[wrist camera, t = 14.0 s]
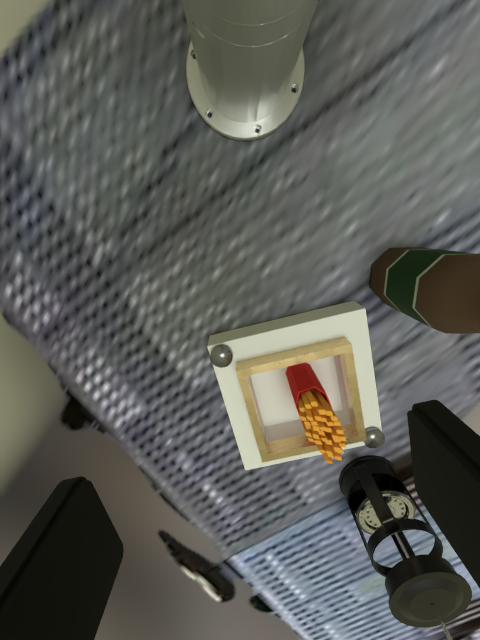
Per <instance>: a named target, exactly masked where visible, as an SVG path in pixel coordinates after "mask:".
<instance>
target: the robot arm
mask: <svg viewBox="0 0 480 640" xmlns="http://www.w3.org/2000/svg"><path fill="white" fill-rule="evenodd" d="M318 1H319V0H182V4H183V8H184V12H185V16H186V20H187V24H188V28H189V32H190V36H191V41H190V44H189V48H188V53H187V60H186V77H187V82H188V88H189V92H190V95H191V98H192V100H193V103H194V105H195V107H196V109H197V111H198V113H199V114H200V116H201V117H202V119H203V120H204V121H205V122H206V123H207V124H208V125H209V126H210V127H211V128H212V129H213V130H215V131H216V132H218V133H219V134H220V135H223V136H225V137H227V138H230V139H234V140H239V141H252V140H256V139H261V138H263V137H265V136H267V135H270V134H271V133H273V132H274V131H276V130H277V129H278V128H280V127H281V126H282V125H283V123H284V122H285V121H286V120H287V119H288V118H289V116H290V115H291V113H292V112H293V110H294V108H295V106H296V104H297V102H298V100H299V97H300V94H301V91H302V88H303V82H304V76H305V59H304V53H303V47H302V46H303V43H304V40H305V37H306V35H307V32H308V29H309V26H310V23H311V21H312V18H313V15H314V12H315V9H316V6H317V4H318ZM194 57H196V59H194ZM292 89H294V90H295V91H296V93H293V92H292V91H291V90H292ZM208 114H212V117H211V118H209V117H208ZM256 129H258V130H259V133H255V130H256ZM407 416H408V426H409V436H410V445H411V455H412V465H413V474H414V484H415V488H416V491H417V494H418V496H419V498H420V500H421V501H422V503H423V504H424V506H425V507H426V509H427V510H428V512H429V513H430V515H431V516H432V518H433V519H434V521H435V522H436V524H437V525H438V527H439V528H440V530H441V531H442V533H443V534H444V536H445V537H446V539H447V540H448V542H449V543H450V545H451V546H452V548H453V549H454V551H455V552H456V554H457V555H458V556H459V558H460V559H461V561H462V562H463V564H464V565H465V567H466V568H467V570H468V571H469V573H470V574H471V576H472V577H473V579H474V580H475V582H476V583H477V585H478V586H479V588H480V436H479V435H478V434H476V433H475V432H474V431H473V430H472V429H471V428H469V427H468V426H467V425H466V424H465V423H464V422H462V421H461V420H460V419H459V418H458V417H457V416H456V415H454V414H453V413H452V412H451V411H450V410H449V409H447V408H446V407H445V406H444V405H443V404H442V403H440V402H439V401H438V400H430V401H426V402H421V403H417V404H414V405H413V407H412V410H411V411H408V413H407ZM122 558H123V544H122V541H121V540H120V538H119V536H118V534H117V532H116V530H115V528H114V526H113V524H112V522H111V520H110V518H109V516H108V514H107V512H106V510H105V508H104V506H103V504H102V502H101V500H100V498H99V496H98V494H97V492H96V490H95V488H94V486H93V484H92V483H91V481H89V480H86V478H84V477H76V478H72V479H67V480H63V481H61V482H60V483H59V484H58V485H57V486H56V488H55V490H54V491H53V492H52V494H51V495H50V496H49V498H48V499H47V501H46V502H45V504H44V505H43V506H42V508H41V509H40V511H39V512H38V514H37V515H36V516H35V518H34V519H33V521H32V522H31V524H30V525H29V526H28V528H27V529H26V531H25V532H24V534H23V535H22V536H21V538H20V539H19V541H18V542H17V543H16V545H15V546H14V548H13V549H12V551H11V552H10V554H9V555H8V556H7V558H6V559H5V561H4V562H3V563H2V565H1V566H0V640H94V638H95V635H96V632H97V630H98V627H99V624H100V621H101V618H102V615H103V613H104V609H105V607H106V604H107V601H108V598H109V595H110V592H111V590H112V587H113V584H114V581H115V578H116V575H117V572H118V570H119V567H120V564H121V561H122Z"/></svg>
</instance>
